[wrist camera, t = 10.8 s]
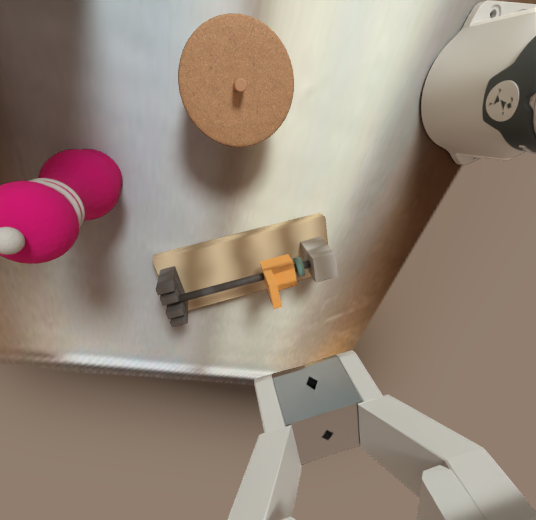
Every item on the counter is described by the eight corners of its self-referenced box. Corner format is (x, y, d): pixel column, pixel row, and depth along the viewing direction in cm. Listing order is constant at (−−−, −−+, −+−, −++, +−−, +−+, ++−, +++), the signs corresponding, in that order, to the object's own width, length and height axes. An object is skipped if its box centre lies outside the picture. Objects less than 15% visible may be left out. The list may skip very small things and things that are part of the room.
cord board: (320, 212, 44) (341, 232, 38) (325, 265, 49) (345, 291, 42) (154, 254, 42) (146, 282, 36) (175, 306, 47) (171, 339, 40)
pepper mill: (133, 203, 39) (82, 286, 21) (71, 209, 38) (-37, 303, 20) (117, 141, 35) (41, 182, 18) (49, 146, 34) (-105, 194, 17)
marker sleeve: (288, 253, 41) (301, 277, 36) (291, 275, 43) (305, 300, 38) (259, 261, 41) (268, 285, 36) (264, 282, 43) (273, 308, 37)
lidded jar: (219, 4, 32) (227, -30, 23) (294, 82, 36) (323, 76, 28) (162, 95, 34) (151, 94, 26) (239, 157, 39) (250, 172, 31)
